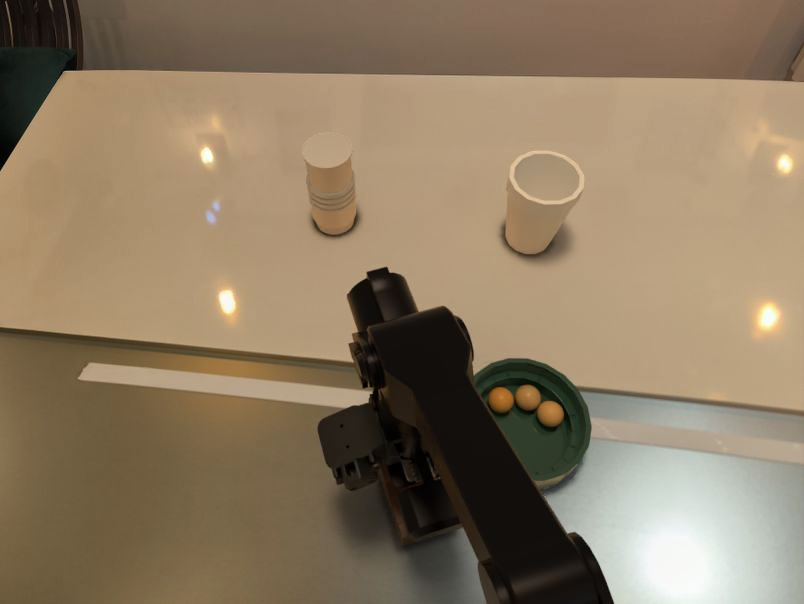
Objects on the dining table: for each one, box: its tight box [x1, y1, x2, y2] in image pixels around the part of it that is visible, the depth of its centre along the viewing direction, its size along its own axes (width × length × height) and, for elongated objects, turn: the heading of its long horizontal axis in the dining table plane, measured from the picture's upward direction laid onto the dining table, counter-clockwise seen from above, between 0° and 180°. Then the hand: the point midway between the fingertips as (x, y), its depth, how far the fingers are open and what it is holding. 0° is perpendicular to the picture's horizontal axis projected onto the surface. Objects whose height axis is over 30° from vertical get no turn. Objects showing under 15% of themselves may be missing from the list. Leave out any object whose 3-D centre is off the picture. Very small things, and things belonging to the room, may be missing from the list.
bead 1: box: [488, 387, 514, 413], centre depth 73 cm, size 3×3×3 cm
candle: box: [301, 131, 357, 236], centre depth 87 cm, size 7×7×15 cm
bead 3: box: [537, 401, 564, 427], centre depth 71 cm, size 3×3×3 cm
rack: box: [378, 461, 440, 546], centre depth 69 cm, size 14×6×4 cm, turn 15°
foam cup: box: [504, 150, 585, 255], centre depth 83 cm, size 10×9×13 cm
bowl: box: [474, 357, 593, 491], centre depth 71 cm, size 14×14×5 cm
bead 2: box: [515, 385, 541, 410], centre depth 73 cm, size 3×3×3 cm
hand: (407, 456), depth 65 cm, fingers closed
